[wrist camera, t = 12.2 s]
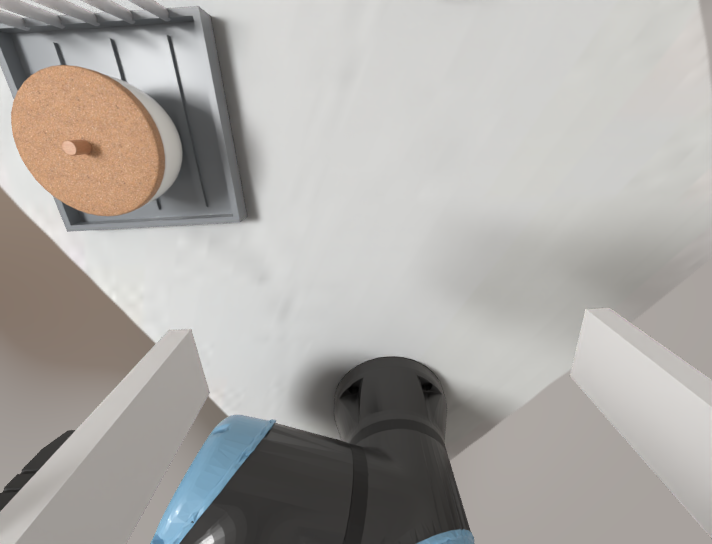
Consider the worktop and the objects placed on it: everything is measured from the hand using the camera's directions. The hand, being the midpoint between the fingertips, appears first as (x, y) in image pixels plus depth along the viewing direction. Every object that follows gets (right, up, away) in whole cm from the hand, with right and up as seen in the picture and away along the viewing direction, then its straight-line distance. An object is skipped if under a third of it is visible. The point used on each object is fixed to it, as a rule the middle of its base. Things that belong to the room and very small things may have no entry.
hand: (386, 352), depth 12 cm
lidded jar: (-21, +15, +21) cm, 34 cm away
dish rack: (-22, +17, +22) cm, 35 cm away
